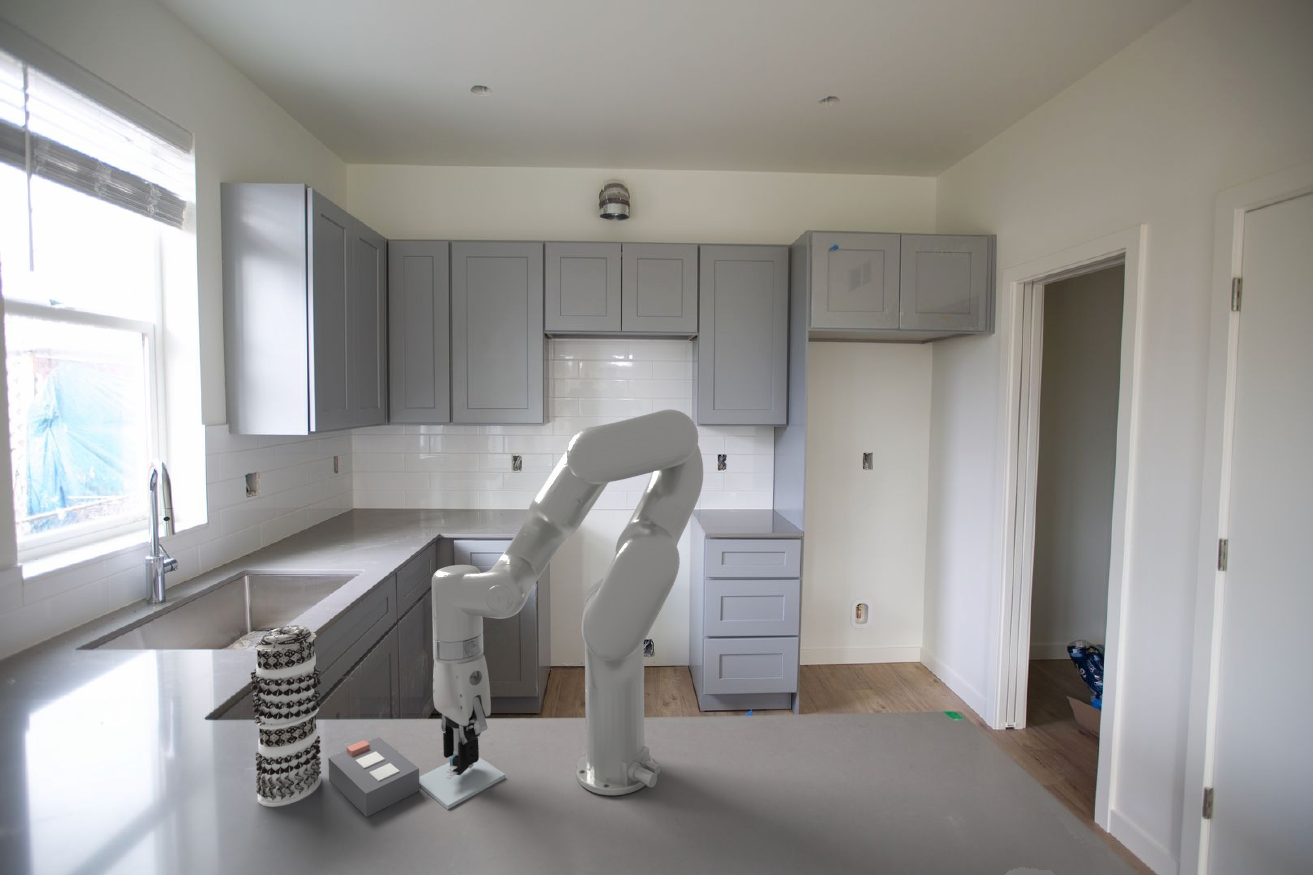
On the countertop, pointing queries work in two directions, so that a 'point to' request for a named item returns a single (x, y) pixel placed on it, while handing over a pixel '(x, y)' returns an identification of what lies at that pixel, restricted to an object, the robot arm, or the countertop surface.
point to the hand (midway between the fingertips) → (461, 757)
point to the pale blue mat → (459, 782)
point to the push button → (456, 749)
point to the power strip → (373, 775)
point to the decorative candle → (286, 716)
